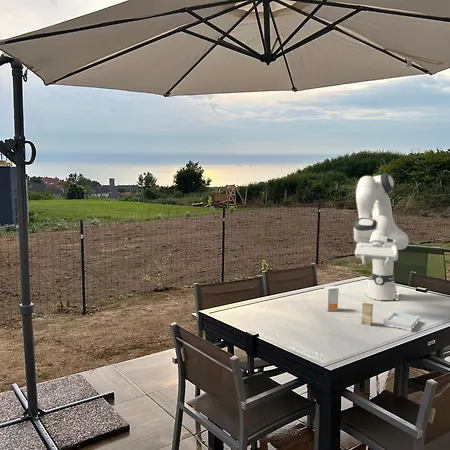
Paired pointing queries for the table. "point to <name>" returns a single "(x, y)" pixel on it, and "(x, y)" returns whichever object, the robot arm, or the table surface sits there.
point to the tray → (388, 322)
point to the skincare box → (331, 298)
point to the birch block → (367, 312)
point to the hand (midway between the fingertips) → (373, 265)
